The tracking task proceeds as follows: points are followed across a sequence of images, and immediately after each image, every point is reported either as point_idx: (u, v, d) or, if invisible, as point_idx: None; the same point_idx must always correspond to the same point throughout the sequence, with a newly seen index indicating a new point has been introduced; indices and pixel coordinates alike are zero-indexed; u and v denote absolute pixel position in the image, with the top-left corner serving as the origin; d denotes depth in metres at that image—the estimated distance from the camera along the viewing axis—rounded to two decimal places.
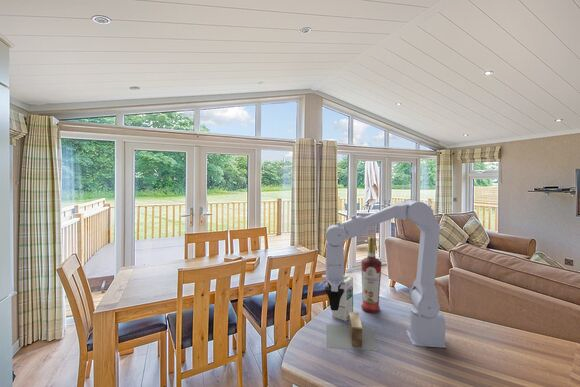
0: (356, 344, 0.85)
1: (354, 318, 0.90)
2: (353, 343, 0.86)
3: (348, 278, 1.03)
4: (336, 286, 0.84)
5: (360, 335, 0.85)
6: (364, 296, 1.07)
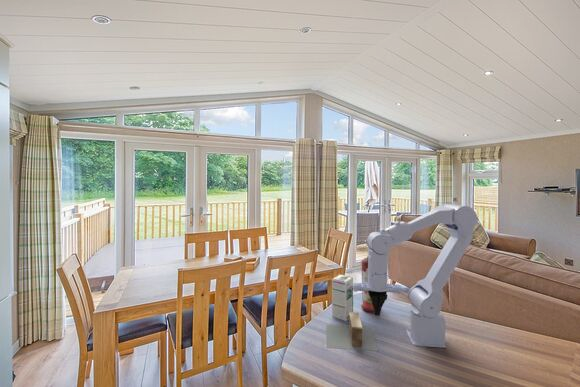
0: (356, 344, 0.85)
1: (354, 318, 0.90)
2: (353, 343, 0.86)
3: (348, 278, 1.03)
4: (353, 286, 0.88)
5: (360, 335, 0.85)
6: (364, 296, 1.07)
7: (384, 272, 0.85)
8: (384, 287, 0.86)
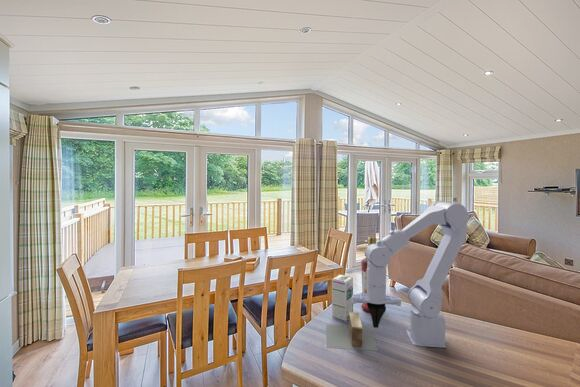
0: (356, 344, 0.85)
1: (354, 318, 0.90)
2: (353, 343, 0.86)
3: (348, 278, 1.03)
4: (352, 298, 0.89)
5: (360, 335, 0.85)
6: None
7: (382, 284, 0.85)
8: (383, 300, 0.86)
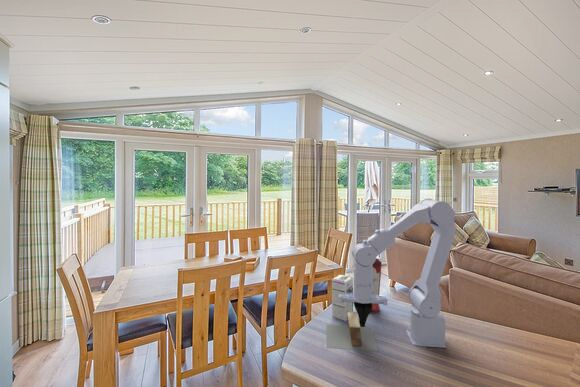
0: (356, 344, 0.85)
1: (352, 317, 0.90)
2: (353, 343, 0.86)
3: (348, 278, 1.03)
4: (339, 297, 0.89)
5: (359, 334, 0.85)
6: None
7: (369, 284, 0.86)
8: (369, 299, 0.86)
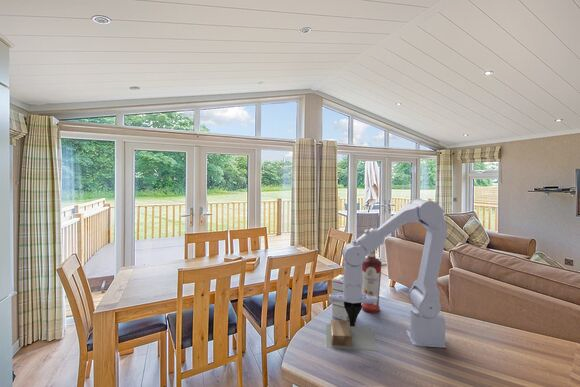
0: (349, 341, 0.86)
1: None
2: (348, 344, 0.86)
3: None
4: (329, 297, 0.89)
5: (340, 337, 0.86)
6: None
7: (358, 284, 0.86)
8: (359, 299, 0.87)
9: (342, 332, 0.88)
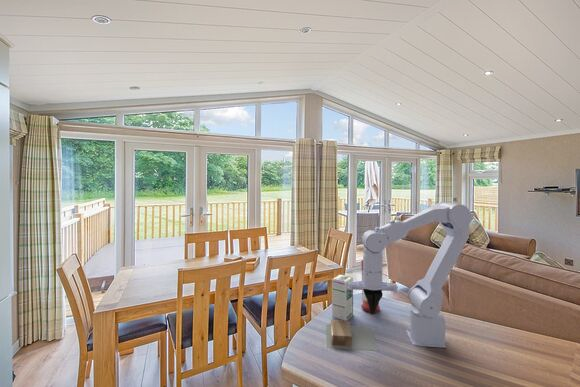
0: (349, 341, 0.86)
1: None
2: (348, 344, 0.86)
3: (348, 278, 1.03)
4: (348, 284, 0.88)
5: (340, 337, 0.86)
6: (364, 296, 1.07)
7: (379, 270, 0.85)
8: (379, 286, 0.86)
9: (342, 332, 0.88)
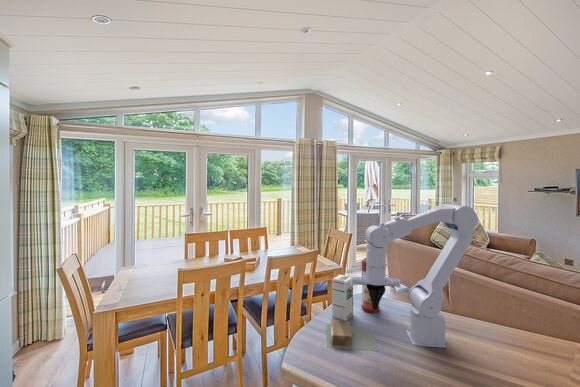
0: (349, 341, 0.86)
1: None
2: (348, 344, 0.86)
3: (348, 278, 1.03)
4: (351, 279, 0.88)
5: (340, 337, 0.86)
6: (364, 296, 1.07)
7: (382, 266, 0.85)
8: (382, 281, 0.86)
9: (342, 332, 0.88)
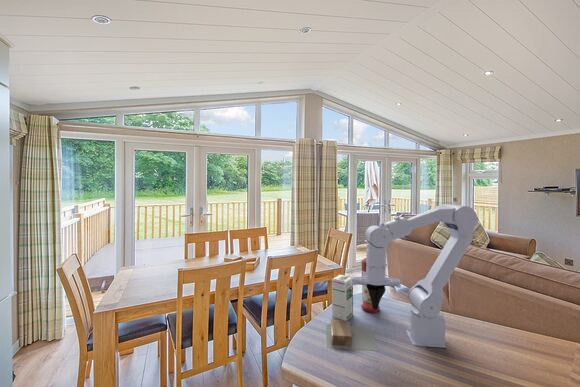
0: (349, 341, 0.86)
1: None
2: (348, 344, 0.86)
3: (348, 278, 1.03)
4: (351, 279, 0.88)
5: (340, 337, 0.86)
6: (364, 296, 1.07)
7: (382, 266, 0.85)
8: (382, 281, 0.86)
9: (342, 332, 0.88)
